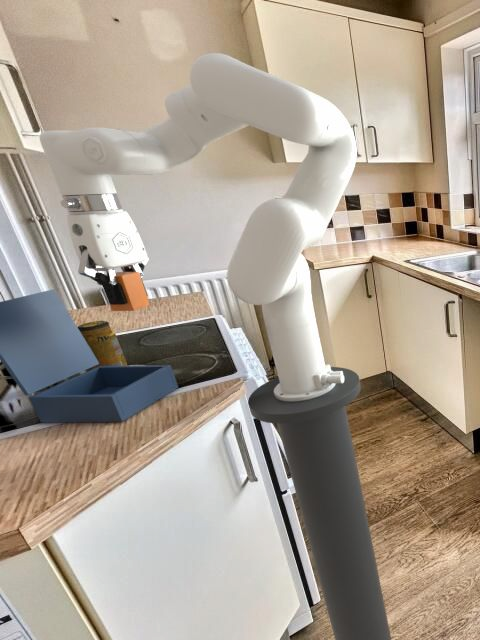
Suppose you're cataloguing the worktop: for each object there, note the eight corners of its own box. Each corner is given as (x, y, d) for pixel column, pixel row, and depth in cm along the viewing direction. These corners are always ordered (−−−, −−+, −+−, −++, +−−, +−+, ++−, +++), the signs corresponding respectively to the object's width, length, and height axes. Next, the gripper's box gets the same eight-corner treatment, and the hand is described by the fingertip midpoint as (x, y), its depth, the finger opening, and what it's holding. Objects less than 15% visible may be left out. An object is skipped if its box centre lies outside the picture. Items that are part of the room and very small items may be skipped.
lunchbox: (178, 387, 90) (170, 364, 88) (122, 421, 77) (111, 396, 75) (108, 388, 91) (98, 366, 89) (40, 422, 78) (28, 397, 76)
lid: (54, 289, 83) (33, 293, 83) (-31, 309, 70) (-55, 314, 70) (99, 363, 88) (80, 367, 89) (28, 394, 76) (6, 399, 76)
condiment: (112, 366, 102) (93, 319, 98) (145, 365, 102) (127, 318, 97) (82, 379, 95) (60, 329, 91) (118, 379, 95) (97, 329, 90)
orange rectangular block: (150, 305, 87) (139, 271, 84) (133, 311, 83) (121, 276, 81) (129, 305, 87) (117, 271, 84) (112, 311, 83) (98, 276, 81)
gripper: (68, 207, 70) (109, 312, 77) (150, 202, 86) (179, 289, 92) (24, 209, 70) (69, 313, 77) (114, 203, 86) (145, 290, 92)
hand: (129, 299), depth 84 cm, fingers closed on orange rectangular block, 4 cm apart
